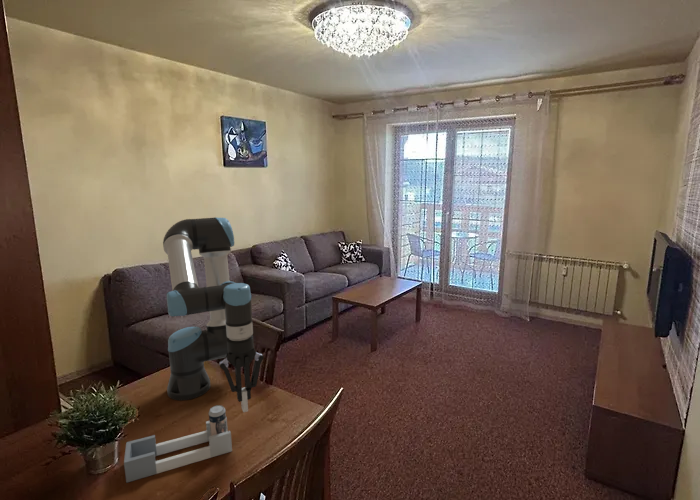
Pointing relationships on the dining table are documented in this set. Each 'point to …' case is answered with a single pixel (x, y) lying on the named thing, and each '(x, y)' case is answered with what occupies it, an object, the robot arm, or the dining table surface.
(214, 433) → the beer can
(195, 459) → the end-cap channel
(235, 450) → the dining table surface
